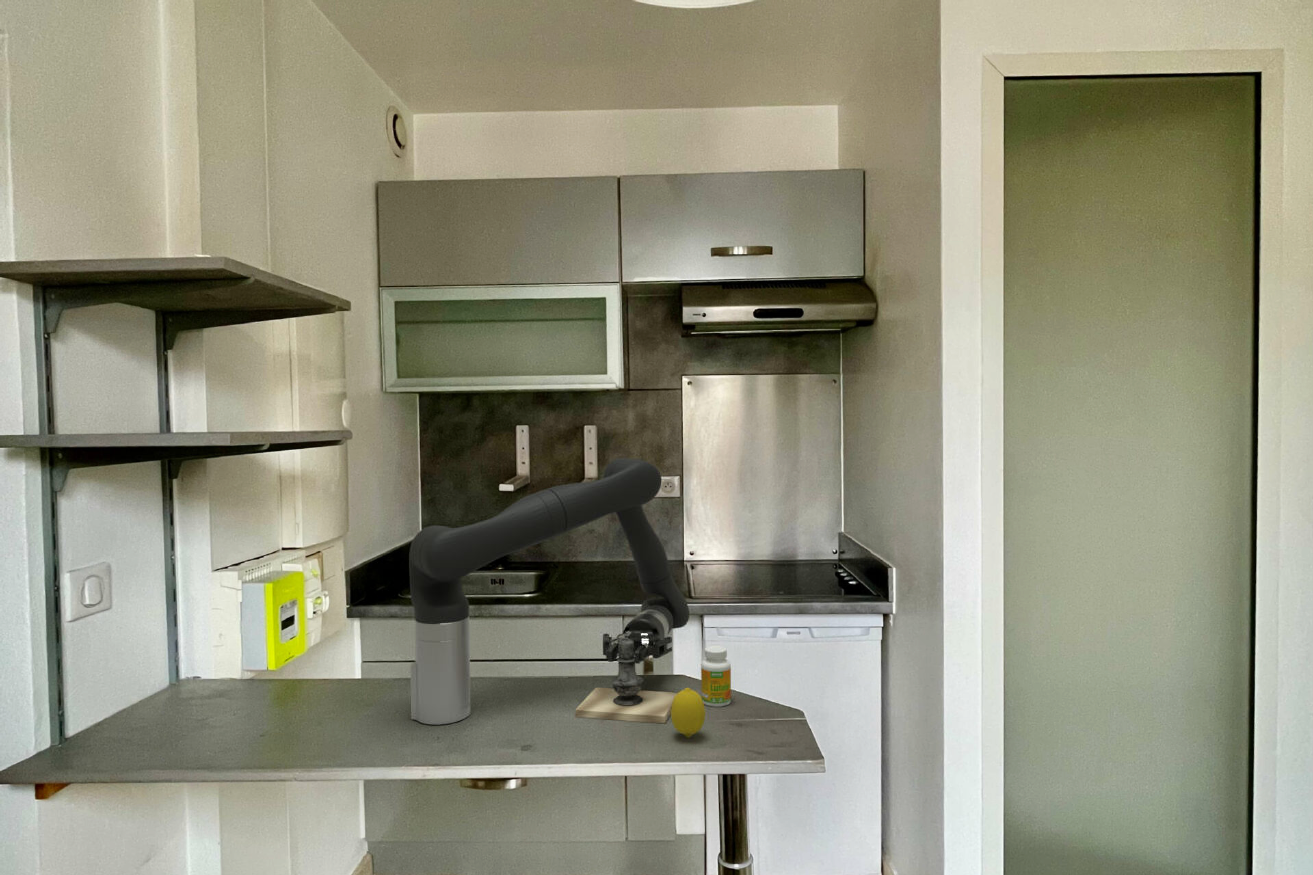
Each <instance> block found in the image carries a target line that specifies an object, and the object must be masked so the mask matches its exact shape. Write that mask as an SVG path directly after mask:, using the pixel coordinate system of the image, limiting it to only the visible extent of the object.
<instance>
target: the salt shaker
mask: <svg viewBox="0 0 1313 875" xmlns="http://www.w3.org/2000/svg"><path fill="white" fill-rule="evenodd" d="M624 636H625V638H623V639H621V640H620V641H619V642H618V654H619V656H618V657H617V658H616V661H617V663H618V664H617V665H618V672H617V673H618V674H617V676H616V677H615V678H612V679H611V681H610V682H611V684H612V687H613V688H612V689H614V690H615V692H616V693H617V694H618V695H619V696H617V697H616V698H615V699H614V700H613V702H614V703H615V704H619V705H634V704H638V703H640V702H642V701H643V698H642V697H640V696H639V695H636V694H637V693H638V692H639V691H640V690H641V689H642V687H643V683H644V678H643V677H641V676H639V675H638V674H637V672H636V663H635V655H634V642H633V640H632V639H629V638H627V636H628V635H627V634H626V633H625V635H624ZM641 691H642V690H641Z"/></svg>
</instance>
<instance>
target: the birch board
mask: <svg viewBox="0 0 1313 875" xmlns="http://www.w3.org/2000/svg"><path fill="white" fill-rule="evenodd" d="M678 693H679V692H670V691H669V692H667V691H653V690H640V691H639V692H638V693H637V694H636V695H639V696H640V697H642V698H643V701H642V702H640V703H638V704H634V705H619V704H615V703H614V702H613V700H614V699H615V698H616V697H617V696H619V695H618V694H617V693H616V692H615V690H614V688H610V687H609V688H606V687H595V688H594V689H593V690H592V691H591V692H590V693H589V694H588V695H587V697H586V698H585V699H584V700H582V702H581V703H580V704H579V705H578V706H577V707H576V708H575V710H574V714H575V715H574V717H576V718H585V719H586V718H587V719H601V720H614V721H615V720H616V721H625V722H626V721H627V722H628V721H629V722H639V723H640V722H641V723H654V724H666V722H667V721H668V719H669V717H670V716H671V707H672V702H673V699H674V697H675V696H676V695H677V694H678Z"/></svg>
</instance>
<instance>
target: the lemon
mask: <svg viewBox="0 0 1313 875" xmlns="http://www.w3.org/2000/svg"><path fill="white" fill-rule="evenodd" d="M677 693H678V694H677V695H676V696H675V697H674V699H673V702H672V707H671V714H670V718H671V723H672V725H673V727H674V728H675V729H676V731H677V732H679V733H680V734H683V735H684V736H685V738H691V737H692V736H693V735H694V734H696V733H698V732H699V731H700V730H701V729H702V727H703V726H704V723H705V720H706V708H705V704H704V703H703V700H702V695H700V694H699V693H698V692H697V691H695V690H693V689H691V688H690V687H686V688H684V689H682V690H680V691H679V692H677Z"/></svg>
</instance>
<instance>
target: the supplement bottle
mask: <svg viewBox="0 0 1313 875" xmlns="http://www.w3.org/2000/svg"><path fill="white" fill-rule="evenodd" d="M727 655H728V653H727V648H725V647H723V646H717V645H715V646H711V645H710V646H708V647H705V648H704V658H705V659H704V660H702V662H701V664H700V665H701V667H700V671H701V672H700V674H701V676H700V680H701V682H700V683H701V686H700V687H701V688H700V689H701V698H702V700H703V703H704V706H705V705H706V706H708V707H714V708H719V707H720V708H721V707H725V706H728V705H730V703H731V702H732V679H731V678H732V673H731V671H732V668H731V662H730V661H729V660H728V659H727V657H728V656H727Z"/></svg>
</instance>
